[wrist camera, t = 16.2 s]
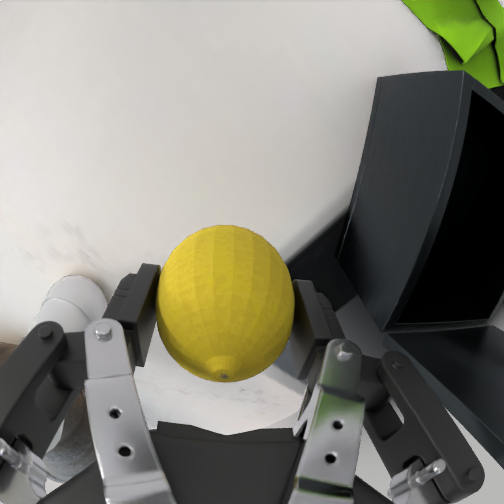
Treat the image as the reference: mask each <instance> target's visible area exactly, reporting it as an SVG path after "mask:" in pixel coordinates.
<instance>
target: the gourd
mask: <svg viewBox="0 0 504 504" xmlns="http://www.w3.org/2000/svg"><path fill="white" fill-rule="evenodd" d="M16 347H17V345H14V344H7V343H1V342H0V367H1V366H2V365H3V363H4V362H5V361H6V360H7V358H8V357H9V356H10V355H11V353H12V352H13V351H14V350H15V349H16ZM96 460H97V457H96V453H95V448H94V444H93V439H92V434H91V428H90V423H89V417H88V410H87V403H86V397H85V396H84V395H83V394H82V393H81V392H80V393H79V394H78V396H77V398H76V399H75V401H74V403H73V404H72V406H71V408H70V410H69V411H68V413H67V415H66V417H65V418H64V424H63V430H62V434H61V439H60V441H59V442H58V443H57V445H56V446H55V447H54V448H53V449H51V450H50V451H49V452H47V453H46V454H45V456H44V458H43V462H44V464H45V466H46V471H47V476H46V477H47V478H48V479H50V480H52V481H55V482H60V483H64V482H67V481H68V480H70V479H71V478H72V477H74V476H75V475H77V474H78V473H79V472H81V471H82V470H84V469H85V468H86V467H88V466H89V465H90V464H92V463H93V462H95V461H96Z"/></svg>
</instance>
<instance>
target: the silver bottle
mask: <svg viewBox="0 0 504 504" xmlns="http://www.w3.org/2000/svg"><path fill="white" fill-rule="evenodd" d="M107 306H108V305H107V301H106V298H105V296H104V294H103V292H102V290H101V289H100V288H99V287H98V286H97V284H95V283H94V282H93V281H92V280H90V279H88V278H86V277H84V276H79V275H68V276H65V277H63V278H61V279H60V280H59V281H57V282H56V283H55V284H54V285H53V286H52V287H51V288H50V290H49V292H48V294H47V295H46V297H45V300H44V302H43V304H42V307H41V309H40V311H39V313H38V314H37V316H36V318H35V320H34V321H33V323H32V325H31V327H30V329H29V331H28V332H27V334H26V335H25V336H24V338H25V337H26V336H27V335H28V333H29V332H30V331H31V330H32V329H33V328H34V327H35V326H36V325H37V324H39V323H41V322H44V321H54V322H57V323H59V324H60V325H61V326H62V328H63V330H64V333H67V332H82V331H85V329H86V328H87V326H88V325H89V324H90V323H91V322H93V321H95V320H97V319H101V318H102V316H103V314H104V312H105V310H106V308H107ZM24 338H23V339H24ZM23 339H22V340H23ZM20 343H21V342H20ZM20 343H19V344H20ZM63 424H64V420H63V422H62V424H61V426H60V427H59V429H58V431H57V433H56V435H55V437H54V438H53V440H52V442H51V444H50V446H49V448H48V450H47V452H49V451H50V450H51V449H53V448H54V447H55V446H56V445H57V443H58V442H59V441H60V439H61V434H62V430H63ZM47 452H46V453H47Z"/></svg>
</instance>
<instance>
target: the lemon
mask: <svg viewBox="0 0 504 504" xmlns="http://www.w3.org/2000/svg"><path fill="white" fill-rule="evenodd" d="M294 307H295V298H294V291H293V286H292V282H291V278H290V274H289V271H288V269H287V267H286V265H285V263H284V261H283V260H282V258H281V257H280V255H279V253H278V252H277V250H276V249H275V248H274V247H273V246H272V245H271V244H270V243H268V242H267V241H266V240H265V239H264V238H263V237H262V236H260V235H258V234H256V233H254V232H252V231H251V230H249V229H246V228H242V227H238V226H234V225H217V226H213V227H208V228H204V229H201V230H199V231H198V232H196V233H194V234H192V235H190V236H188V237H187V238H186V239H185V240H184V241H183V242H181V243H180V244H179V245H178V246H177V247H176V248H175V249H174V250H173V252H172V253H171V255H170V257H169V258H168V260H167V262H166V263H165V265H164V267H163V269H162V271H161V274H160V277H159V282H158V286H157V291H156V297H155V312H156V319H157V326H158V332H159V335H160V338H161V340H162V342H163V344H164V346H165V348H166V349H167V351H168V353H169V354H170V355H171V356H172V357H173V359H174V360H175V361H176V362H177V363H178V364H179V365H180V366H181V367H183V368H184V369H186V370H187V371H189V372H190V373H192V374H193V375H195V376H198V377H200V378H203V379H206V380H210V381H214V382H237V381H241V380H245V379H248V378H251V377H253V376H255V375H257V374H259V373H261V372H262V371H264V370H265V369H266V368H268V367H269V366H270V365H271V364H273V363H274V361H275V360H276V359H277V358H278V357H279V356H280V355H281V353H282V352H283V350H284V348H285V346H286V344H287V342H288V340H289V337H290V335H291V332H292V327H293V318H294Z"/></svg>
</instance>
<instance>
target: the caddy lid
mask: <svg viewBox="0 0 504 504" xmlns="http://www.w3.org/2000/svg"><path fill="white" fill-rule="evenodd" d="M382 345H383V346H384V347H385V348H386V349H387V350H388V351H398V352H400V353H402V354H404V355H406V356H407V357H408V358H409V359H410V361H411V362H412V363H413V365H414V366H415V367H416V369H417V370H418V371H419V373H420V374H421V375H422V377H423V378H424V379H425V381H426V382H427V384H428V385H429V386H430V388H431V389H432V391H433V392H434V393H435V395H436V396H437V398H438V399H439V400H440V402H441V403H442V405H443V406H444V407H445V408H446V409H447V410H448V411H449V412H450V413H451V414H452V415H453V416H454V417H455V418H456V419H457V420H458V421H459V422H460V423H461V424H462V425H463V426H464V427H465V429H466V430H467V431H468V432H469V433H470V434H471V435H472V436H473V437H474V438H475V439H476V440H477V441H478V442H479V443H480V444H481V445H482V446H483V447H484V449H485V450H486V451H487V452H488V453H489V454H490V455H491V456H492V457H493V458H494V459H495V460H496V461H497V463H498V464H499V465H500V466H501V467H502V468H503V469H504V331H502V330H500V329H498V328H496V327H495V326H493V325H490V326H481V327H473V328H463V329H452V330H440V331H426V332H408V333H386V335H385V338H384V341H383V344H382Z"/></svg>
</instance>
